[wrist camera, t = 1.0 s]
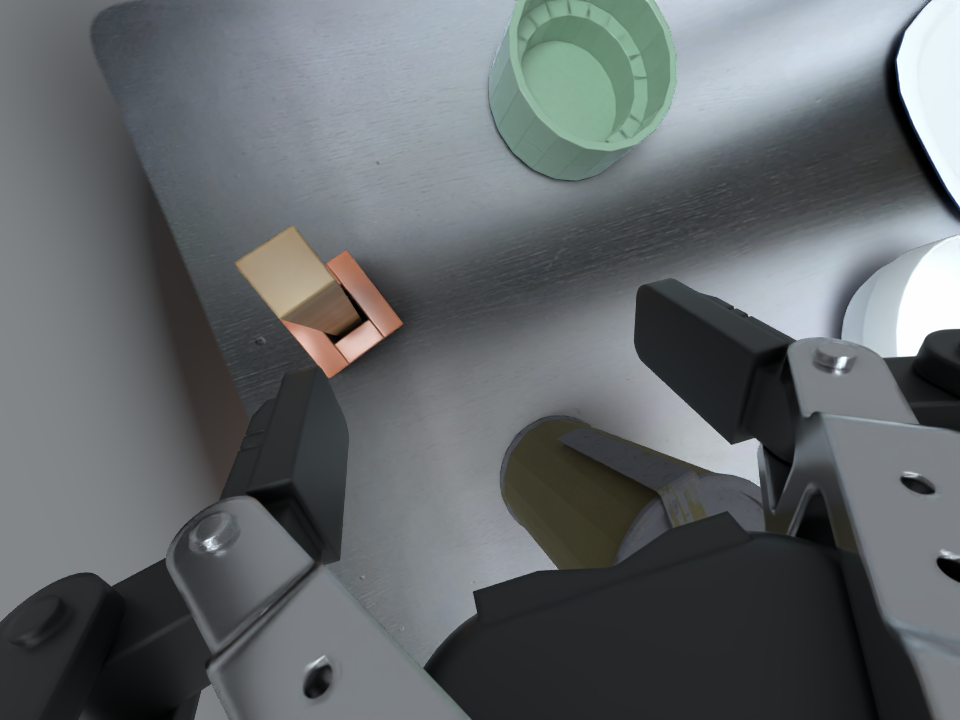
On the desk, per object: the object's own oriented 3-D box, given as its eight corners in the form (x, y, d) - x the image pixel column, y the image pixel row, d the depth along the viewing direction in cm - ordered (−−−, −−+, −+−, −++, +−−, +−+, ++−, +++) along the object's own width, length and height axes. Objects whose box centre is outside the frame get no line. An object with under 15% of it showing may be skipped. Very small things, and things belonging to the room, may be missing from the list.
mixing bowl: (454, 72, 33) (470, 12, 27) (575, -4, 35) (614, -74, 29) (547, 212, 35) (580, 185, 29) (655, 132, 37) (706, 92, 31)
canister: (625, 498, 38) (889, 660, 18) (526, 555, 35) (705, 807, 16) (583, 391, 36) (819, 441, 17) (478, 443, 34) (609, 570, 15)
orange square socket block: (284, 310, 30) (266, 303, 25) (351, 264, 31) (346, 248, 26) (336, 374, 31) (329, 379, 26) (400, 327, 32) (403, 323, 27)
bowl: (882, 216, 44) (977, 191, 37) (958, 341, 47) (1059, 340, 40) (780, 331, 41) (863, 327, 34) (869, 455, 45) (960, 475, 38)
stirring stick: (324, 316, 31) (232, 262, 12) (346, 301, 31) (292, 223, 12) (341, 337, 31) (279, 320, 12) (363, 322, 32) (336, 280, 12)
